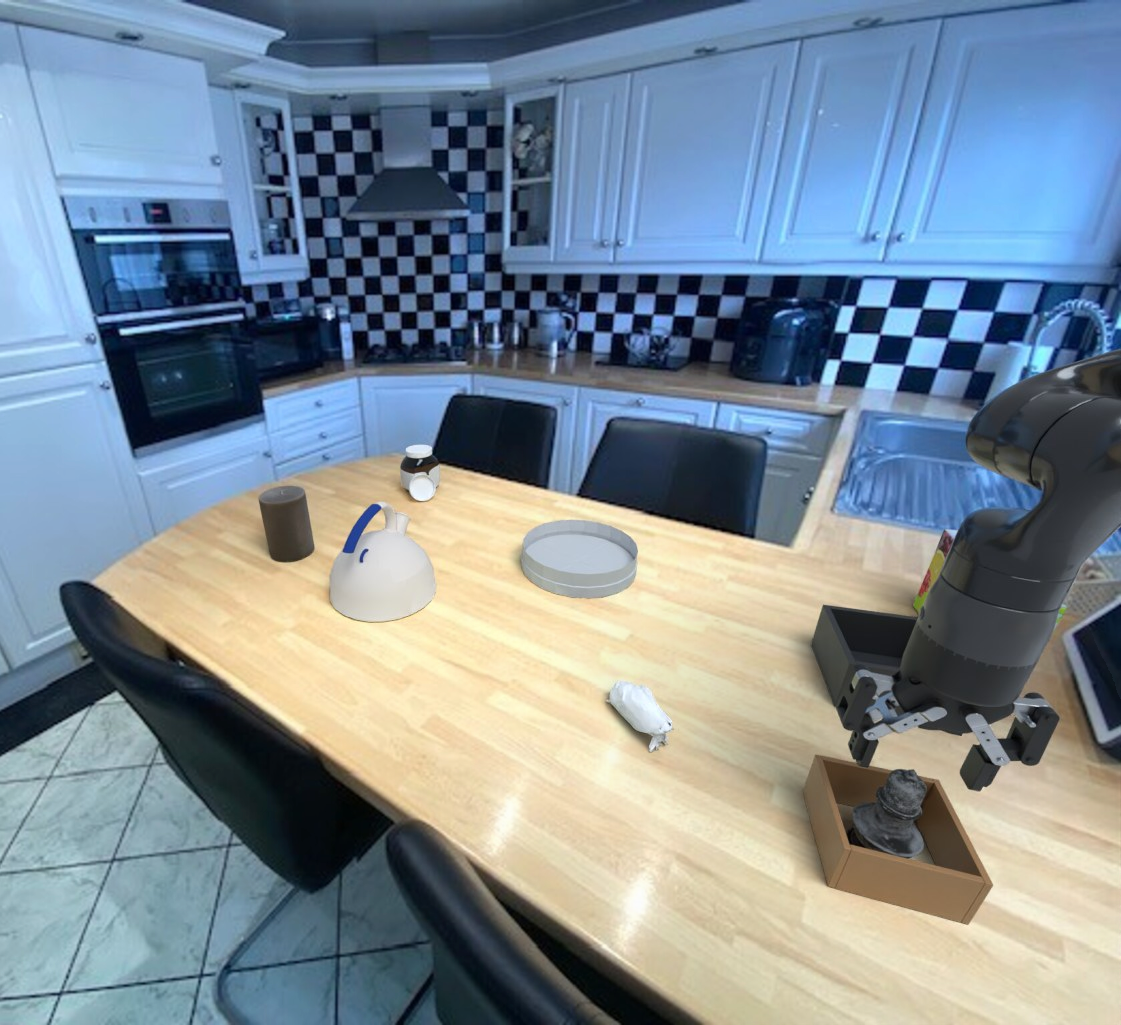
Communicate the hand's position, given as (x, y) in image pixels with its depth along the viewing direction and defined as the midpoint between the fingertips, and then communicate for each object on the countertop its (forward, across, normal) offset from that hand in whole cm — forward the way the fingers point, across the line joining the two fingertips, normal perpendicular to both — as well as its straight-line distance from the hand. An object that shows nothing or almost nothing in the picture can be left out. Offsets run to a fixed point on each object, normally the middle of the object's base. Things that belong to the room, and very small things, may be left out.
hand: (912, 771), depth 53 cm
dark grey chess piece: (+12, 0, 0) cm, 12 cm away
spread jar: (+12, -79, +76) cm, 110 cm away
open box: (+12, +8, +28) cm, 31 cm away
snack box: (+12, +22, +40) cm, 47 cm away
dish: (+12, -36, +49) cm, 62 cm away
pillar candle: (+12, -96, +40) cm, 105 cm away
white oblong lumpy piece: (+12, -24, +11) cm, 29 cm away
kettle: (+12, -70, +31) cm, 78 cm away
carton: (+12, 0, 0) cm, 12 cm away
